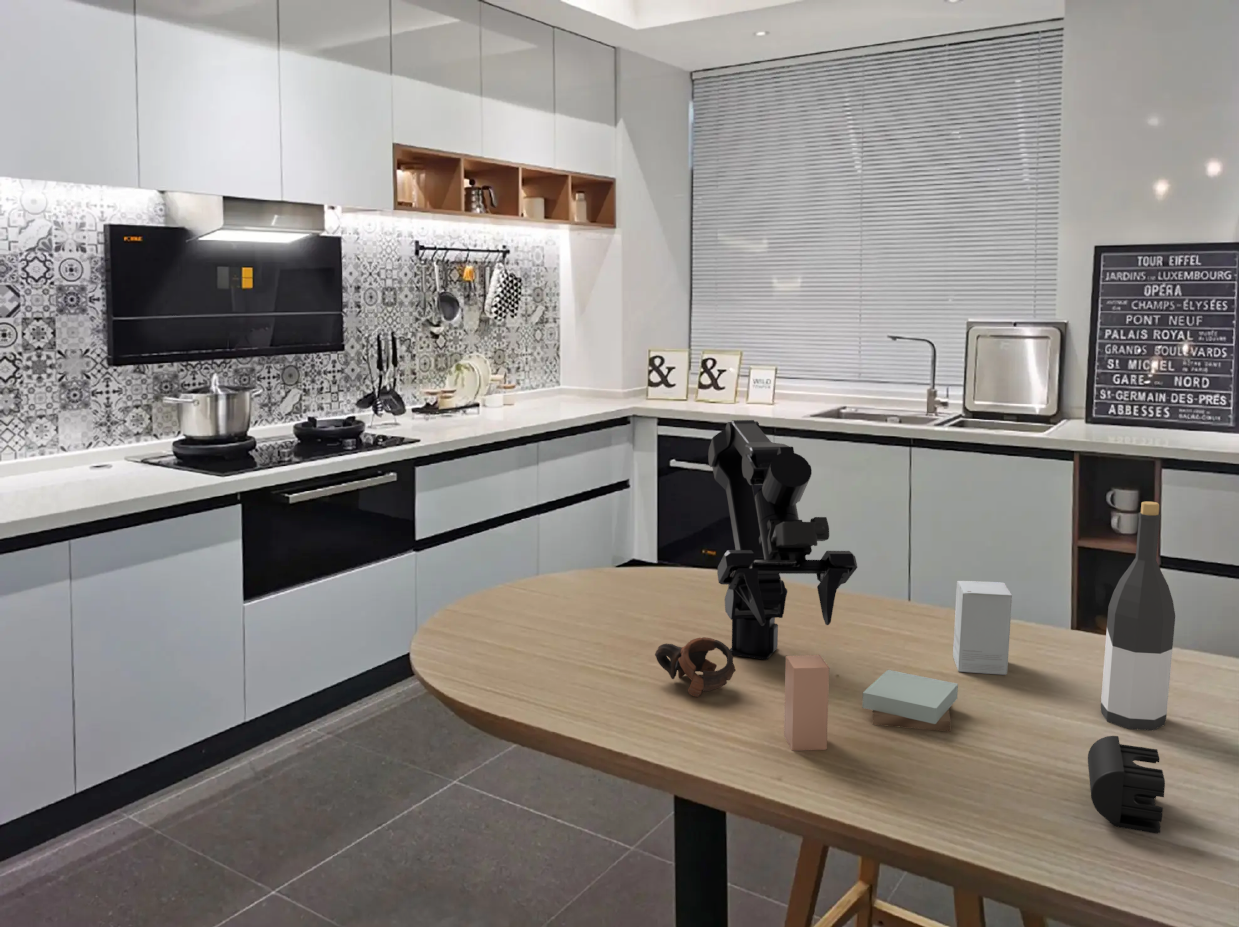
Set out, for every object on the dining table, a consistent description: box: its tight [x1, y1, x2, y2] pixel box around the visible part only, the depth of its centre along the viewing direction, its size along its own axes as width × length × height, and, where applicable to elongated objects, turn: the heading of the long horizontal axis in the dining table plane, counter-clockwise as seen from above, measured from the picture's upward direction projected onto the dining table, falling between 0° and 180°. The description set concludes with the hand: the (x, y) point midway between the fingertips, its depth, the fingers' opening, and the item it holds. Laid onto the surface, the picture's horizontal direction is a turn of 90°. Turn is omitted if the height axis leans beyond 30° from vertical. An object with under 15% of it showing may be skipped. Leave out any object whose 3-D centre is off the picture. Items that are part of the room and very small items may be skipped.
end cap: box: [1087, 735, 1166, 834], centre depth 119 cm, size 10×7×7 cm
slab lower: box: [872, 708, 951, 732], centre depth 146 cm, size 10×10×2 cm
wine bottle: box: [1100, 500, 1176, 731], centre depth 141 cm, size 8×8×30 cm
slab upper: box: [861, 669, 959, 724], centre depth 145 cm, size 10×10×2 cm
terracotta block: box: [783, 654, 830, 752], centre depth 136 cm, size 4×4×11 cm
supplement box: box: [952, 580, 1013, 676], centre depth 163 cm, size 7×7×13 cm
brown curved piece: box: [654, 637, 737, 698], centre depth 155 cm, size 12×10×8 cm
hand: (796, 624), depth 143 cm, fingers open, 9 cm apart
